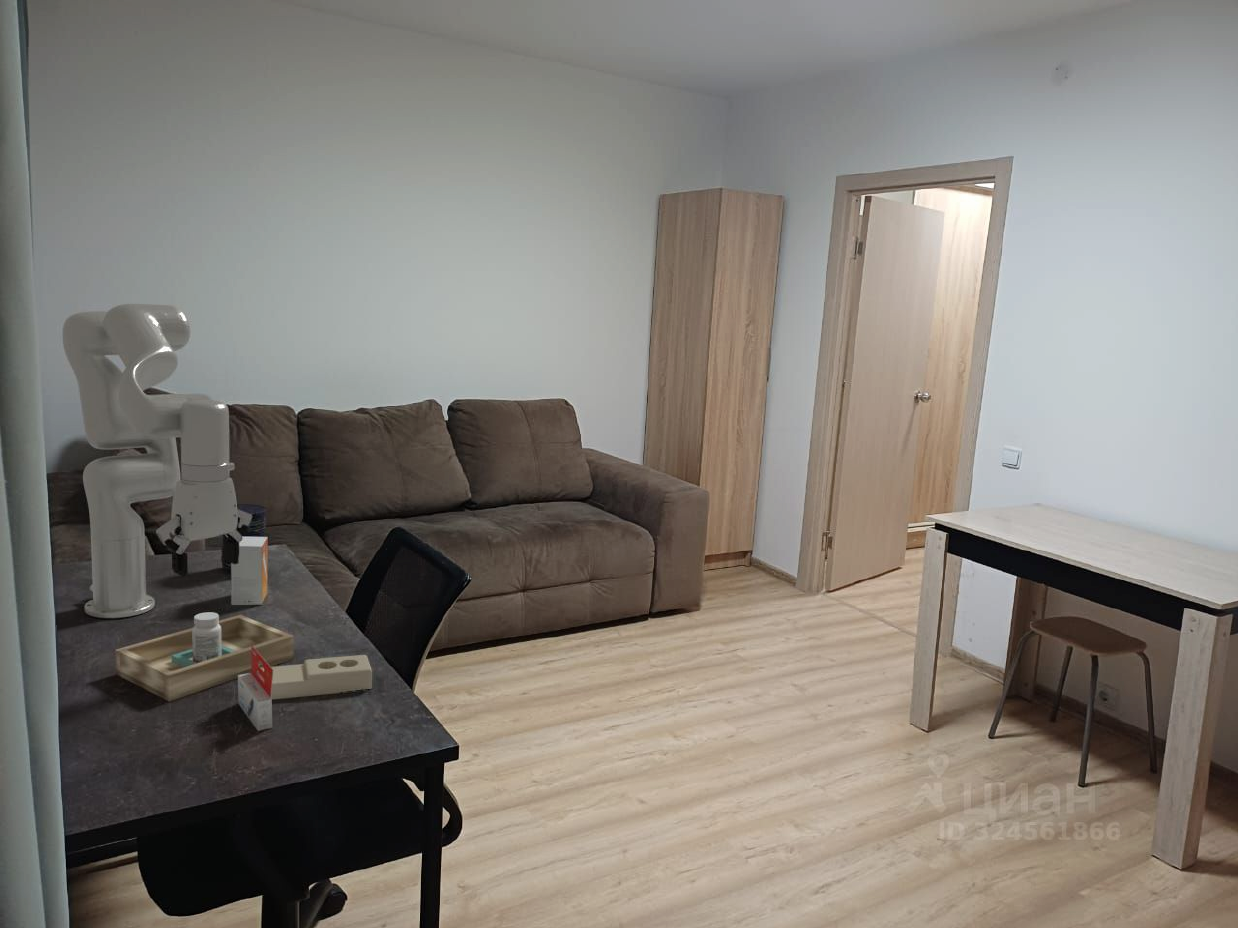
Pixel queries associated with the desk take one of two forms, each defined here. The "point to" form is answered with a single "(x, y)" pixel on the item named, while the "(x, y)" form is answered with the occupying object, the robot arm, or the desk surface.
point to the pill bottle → (206, 637)
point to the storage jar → (254, 529)
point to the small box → (250, 572)
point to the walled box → (172, 681)
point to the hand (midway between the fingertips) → (206, 568)
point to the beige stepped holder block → (321, 677)
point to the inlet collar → (184, 656)
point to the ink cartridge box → (257, 692)
